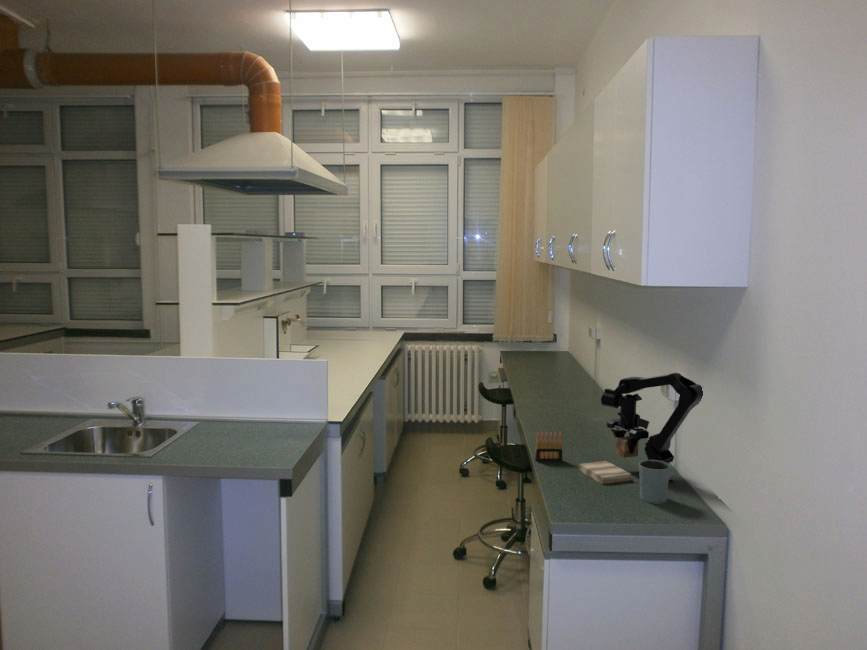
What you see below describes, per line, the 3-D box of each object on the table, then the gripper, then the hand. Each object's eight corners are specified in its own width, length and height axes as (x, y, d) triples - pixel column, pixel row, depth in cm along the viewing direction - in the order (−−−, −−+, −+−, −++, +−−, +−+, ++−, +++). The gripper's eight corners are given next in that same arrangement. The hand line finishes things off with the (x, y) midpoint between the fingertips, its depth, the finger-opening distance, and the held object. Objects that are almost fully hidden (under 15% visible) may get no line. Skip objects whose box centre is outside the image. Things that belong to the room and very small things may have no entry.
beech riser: (631, 480, 244) (631, 473, 244) (602, 484, 240) (602, 477, 240) (605, 467, 259) (606, 460, 259) (578, 470, 255) (578, 463, 255)
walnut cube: (637, 456, 254) (638, 440, 253) (624, 457, 252) (624, 441, 251) (628, 451, 259) (628, 436, 259) (614, 453, 257) (615, 437, 257)
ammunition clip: (535, 461, 266) (536, 431, 264) (534, 460, 267) (535, 430, 266) (562, 461, 266) (563, 431, 265) (561, 460, 268) (562, 430, 266)
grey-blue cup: (662, 493, 231) (664, 459, 230) (674, 504, 221) (675, 469, 220) (633, 493, 231) (634, 459, 229) (643, 504, 221) (645, 469, 219)
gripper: (662, 414, 248) (660, 456, 249) (631, 403, 265) (629, 442, 267) (636, 417, 244) (634, 459, 246) (606, 405, 262) (605, 445, 263)
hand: (626, 451), depth 255 cm, fingers closed on walnut cube, 6 cm apart
